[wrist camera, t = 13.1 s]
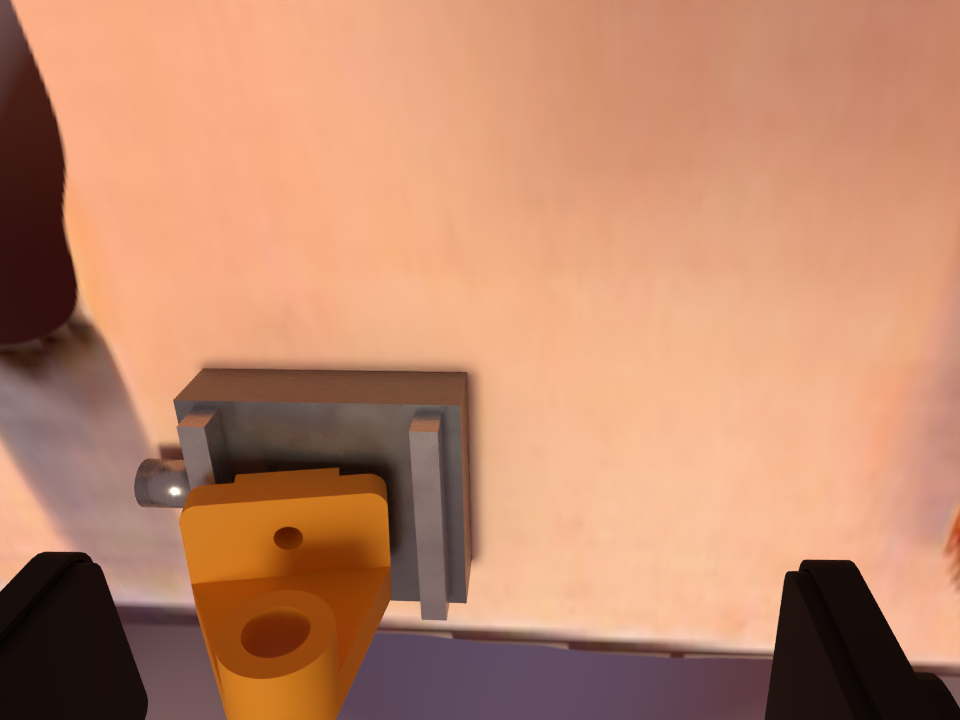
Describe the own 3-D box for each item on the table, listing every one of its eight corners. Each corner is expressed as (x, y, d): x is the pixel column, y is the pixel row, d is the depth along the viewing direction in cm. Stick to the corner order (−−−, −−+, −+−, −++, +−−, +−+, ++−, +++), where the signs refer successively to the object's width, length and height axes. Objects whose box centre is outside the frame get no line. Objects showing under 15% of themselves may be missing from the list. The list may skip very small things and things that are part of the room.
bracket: (385, 464, 42) (394, 619, 31) (390, 564, 45) (400, 738, 34) (187, 477, 40) (124, 646, 30) (206, 581, 43) (155, 767, 33)
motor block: (466, 372, 43) (456, 423, 38) (471, 559, 49) (463, 627, 44) (138, 367, 45) (84, 416, 39) (182, 550, 51) (140, 614, 45)
